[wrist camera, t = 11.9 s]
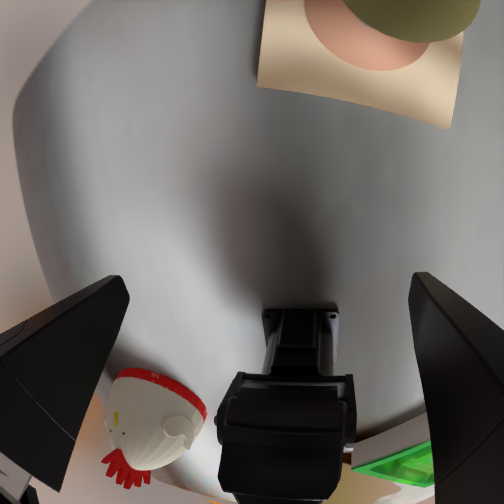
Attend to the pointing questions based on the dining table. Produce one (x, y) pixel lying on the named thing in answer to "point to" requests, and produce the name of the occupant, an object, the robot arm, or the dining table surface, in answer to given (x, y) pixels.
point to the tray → (398, 454)
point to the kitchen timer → (148, 424)
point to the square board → (356, 61)
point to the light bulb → (416, 17)
